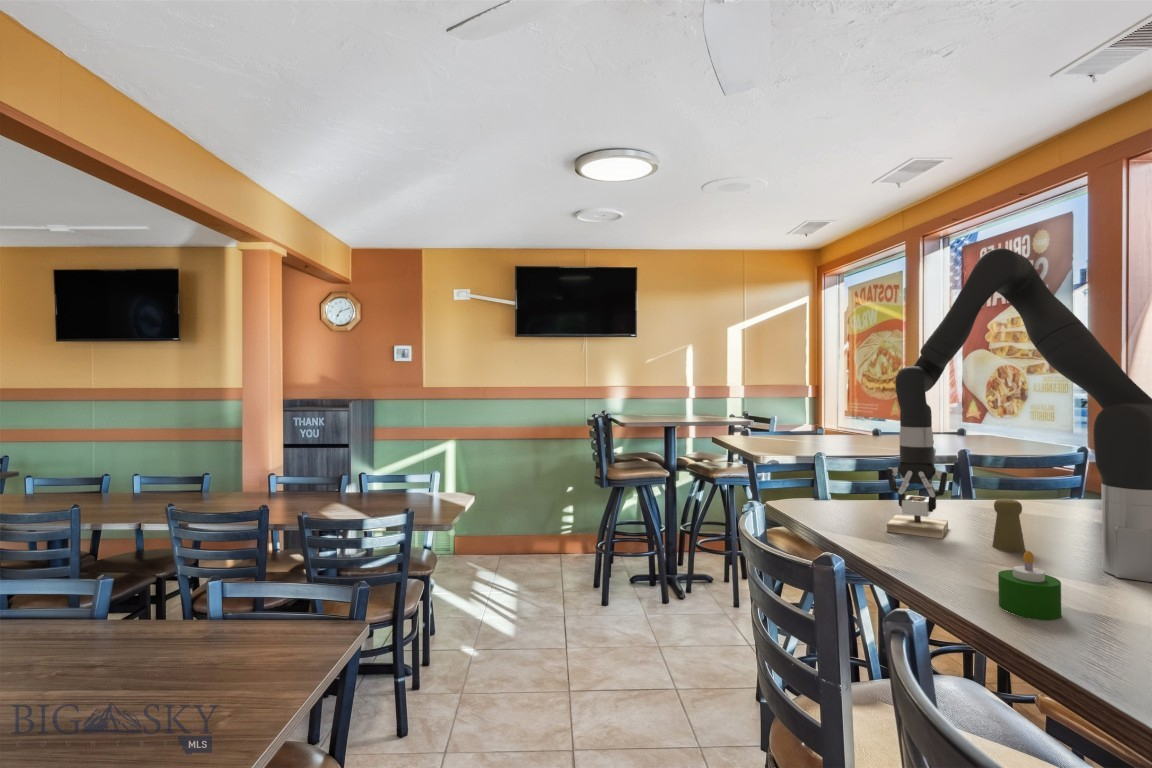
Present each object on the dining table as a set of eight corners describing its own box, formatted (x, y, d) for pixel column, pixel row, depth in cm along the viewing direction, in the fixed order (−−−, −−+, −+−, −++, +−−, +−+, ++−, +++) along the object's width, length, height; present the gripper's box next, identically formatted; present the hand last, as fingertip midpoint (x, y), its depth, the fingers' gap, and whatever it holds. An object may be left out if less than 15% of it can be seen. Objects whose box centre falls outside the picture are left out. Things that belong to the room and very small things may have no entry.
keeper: (942, 538, 142) (941, 505, 142) (887, 531, 150) (886, 500, 150) (947, 528, 152) (947, 497, 152) (895, 522, 159) (895, 492, 159)
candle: (994, 611, 98) (993, 551, 98) (1003, 597, 104) (1003, 541, 104) (1057, 625, 92) (1056, 561, 92) (1064, 610, 98) (1063, 550, 98)
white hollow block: (927, 516, 146) (927, 502, 146) (902, 514, 150) (901, 500, 150) (932, 510, 152) (931, 497, 152) (907, 508, 156) (907, 495, 156)
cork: (1014, 544, 136) (1013, 496, 136) (1031, 551, 130) (1030, 502, 130) (986, 544, 137) (985, 496, 137) (1002, 551, 131) (1001, 502, 131)
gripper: (882, 444, 152) (883, 509, 152) (947, 447, 143) (948, 516, 144) (887, 441, 158) (889, 504, 158) (950, 444, 149) (952, 510, 149)
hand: (917, 509), depth 151 cm, fingers closed on white hollow block, 5 cm apart
